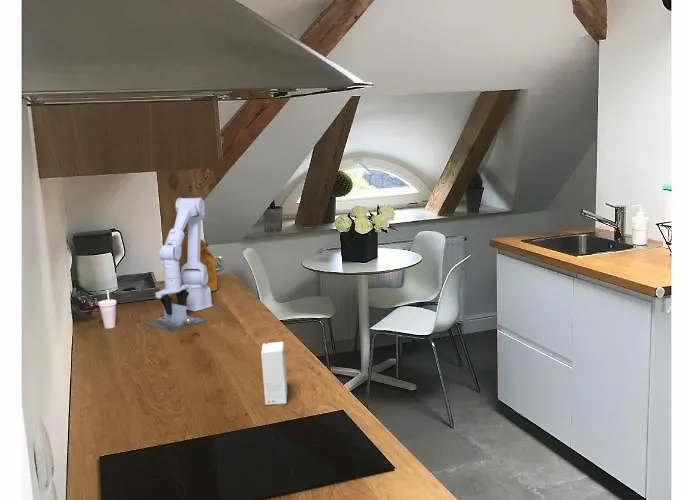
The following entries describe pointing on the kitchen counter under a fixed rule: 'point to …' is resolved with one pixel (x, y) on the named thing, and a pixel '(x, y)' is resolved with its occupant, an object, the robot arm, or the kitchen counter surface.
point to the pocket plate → (175, 323)
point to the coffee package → (208, 265)
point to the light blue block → (176, 313)
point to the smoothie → (108, 311)
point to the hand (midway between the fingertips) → (175, 312)
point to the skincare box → (274, 373)
